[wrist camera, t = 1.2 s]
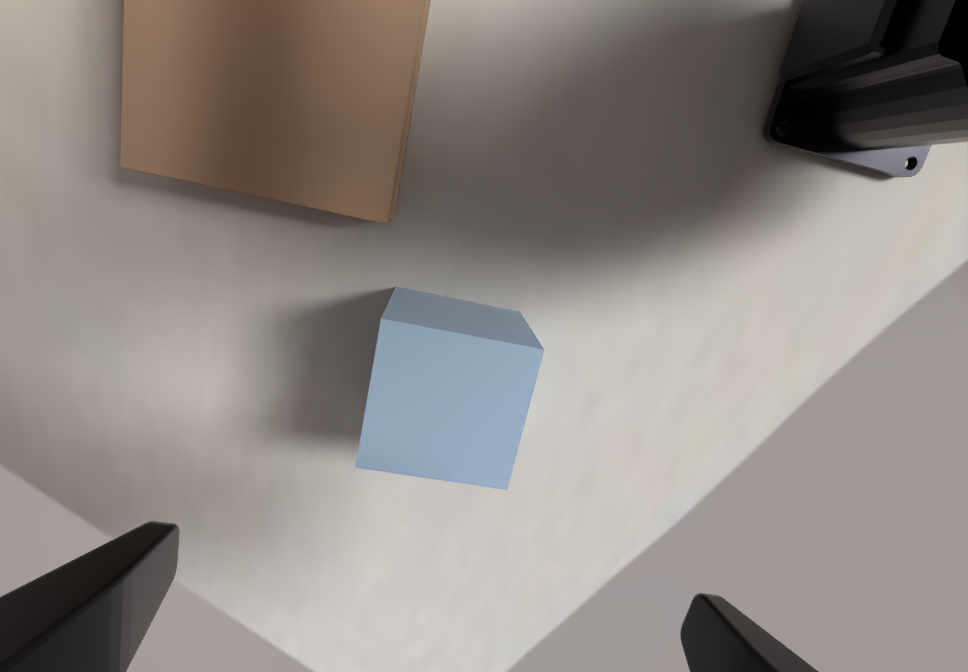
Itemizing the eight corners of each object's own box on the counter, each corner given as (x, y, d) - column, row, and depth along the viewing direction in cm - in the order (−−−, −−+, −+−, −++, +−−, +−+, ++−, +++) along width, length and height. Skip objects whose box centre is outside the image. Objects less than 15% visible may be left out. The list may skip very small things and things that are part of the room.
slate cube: (519, 311, 20) (544, 349, 15) (491, 422, 21) (506, 489, 17) (395, 286, 19) (380, 318, 15) (375, 402, 21) (355, 467, 16)
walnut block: (434, -19, 17) (433, -62, 14) (394, 218, 19) (386, 223, 16) (185, -90, 16) (127, -153, 13) (171, 170, 18) (119, 166, 15)
